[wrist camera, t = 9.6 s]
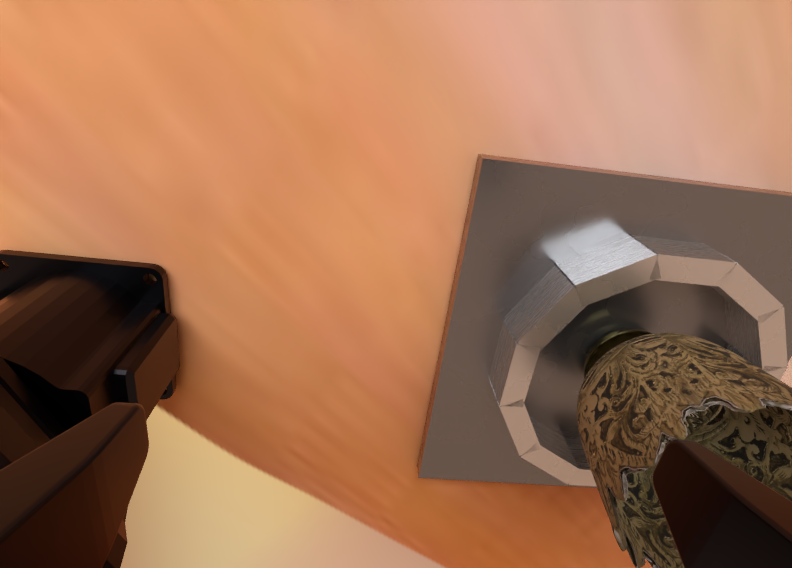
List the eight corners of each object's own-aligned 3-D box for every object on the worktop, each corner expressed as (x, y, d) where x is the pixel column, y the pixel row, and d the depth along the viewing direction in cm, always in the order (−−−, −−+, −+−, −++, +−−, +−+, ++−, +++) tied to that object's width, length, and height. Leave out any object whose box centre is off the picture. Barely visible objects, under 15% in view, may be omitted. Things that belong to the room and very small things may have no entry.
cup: (690, 255, 19) (880, 373, 12) (711, 388, 22) (872, 545, 15) (515, 321, 20) (594, 467, 13) (558, 440, 23) (641, 611, 16)
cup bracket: (417, 465, 25) (422, 512, 22) (478, 154, 18) (495, 170, 15) (702, 482, 26) (737, 527, 24) (858, 201, 19) (930, 222, 17)
